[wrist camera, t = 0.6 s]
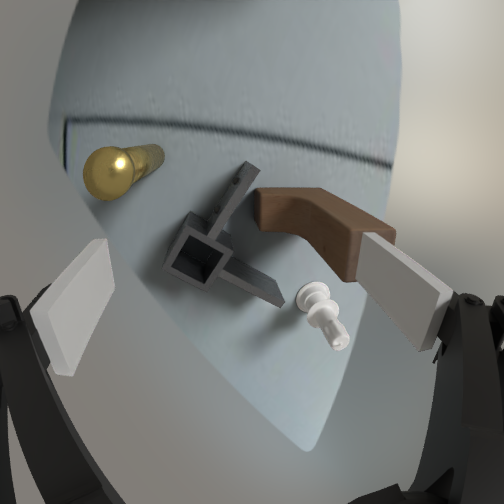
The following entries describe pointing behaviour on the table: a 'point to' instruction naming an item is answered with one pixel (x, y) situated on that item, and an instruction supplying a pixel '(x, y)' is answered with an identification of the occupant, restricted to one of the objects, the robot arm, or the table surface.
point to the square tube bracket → (220, 248)
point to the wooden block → (320, 224)
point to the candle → (323, 313)
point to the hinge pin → (119, 169)
